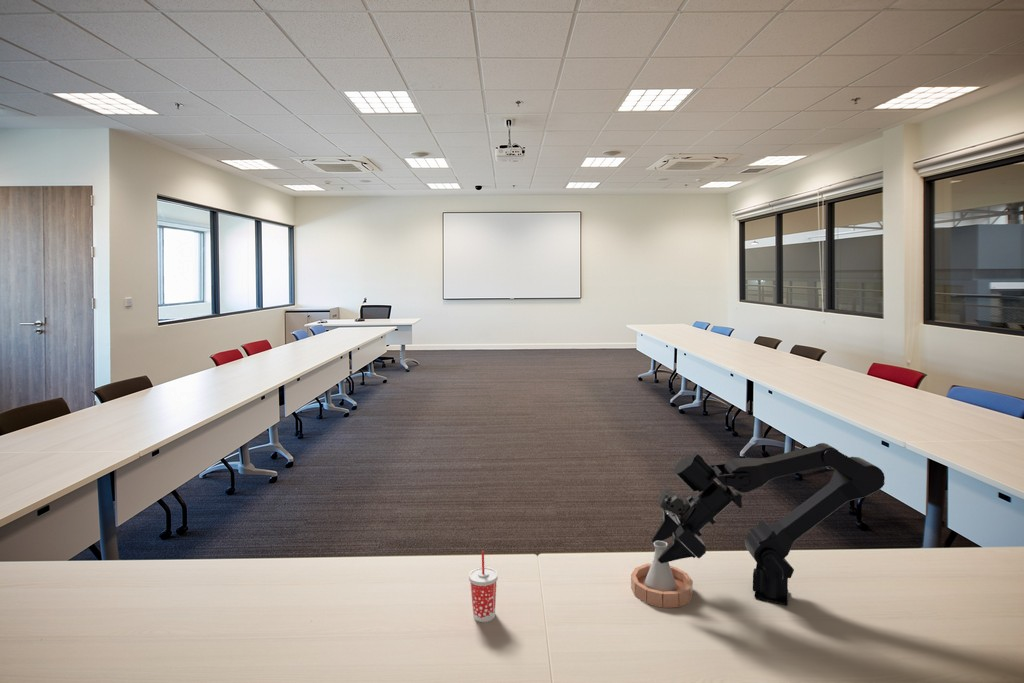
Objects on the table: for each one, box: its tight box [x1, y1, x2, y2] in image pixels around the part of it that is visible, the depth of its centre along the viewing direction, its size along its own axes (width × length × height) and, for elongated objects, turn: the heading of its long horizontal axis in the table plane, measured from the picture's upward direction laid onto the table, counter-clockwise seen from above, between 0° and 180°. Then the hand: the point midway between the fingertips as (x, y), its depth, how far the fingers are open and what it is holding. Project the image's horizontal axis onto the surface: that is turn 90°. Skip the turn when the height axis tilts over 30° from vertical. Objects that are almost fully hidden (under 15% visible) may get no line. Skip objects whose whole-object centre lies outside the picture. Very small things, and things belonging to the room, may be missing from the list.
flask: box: [645, 540, 677, 592], centre depth 119 cm, size 7×7×10 cm
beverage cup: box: [468, 550, 499, 623], centre depth 111 cm, size 6×6×14 cm
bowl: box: [630, 563, 694, 609], centre depth 120 cm, size 13×13×3 cm
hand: (655, 551), depth 119 cm, fingers open, 9 cm apart
